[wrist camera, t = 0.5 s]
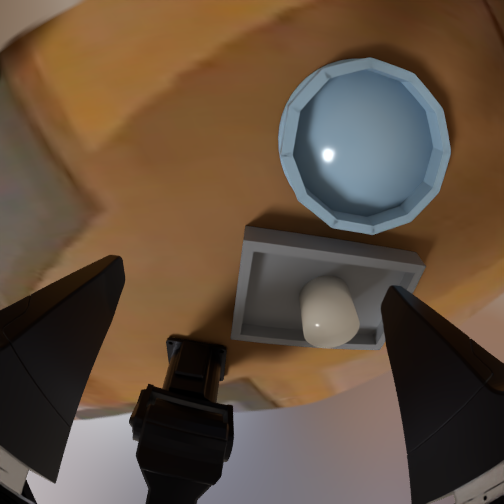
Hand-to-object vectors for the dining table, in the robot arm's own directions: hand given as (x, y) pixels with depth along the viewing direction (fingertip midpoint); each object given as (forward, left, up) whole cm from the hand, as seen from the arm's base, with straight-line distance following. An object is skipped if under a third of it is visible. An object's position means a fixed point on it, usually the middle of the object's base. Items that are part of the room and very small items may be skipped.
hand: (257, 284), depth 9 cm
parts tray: (-10, -7, -13) cm, 17 cm away
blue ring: (+3, -7, -13) cm, 15 cm away
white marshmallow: (-10, -7, -12) cm, 17 cm away
